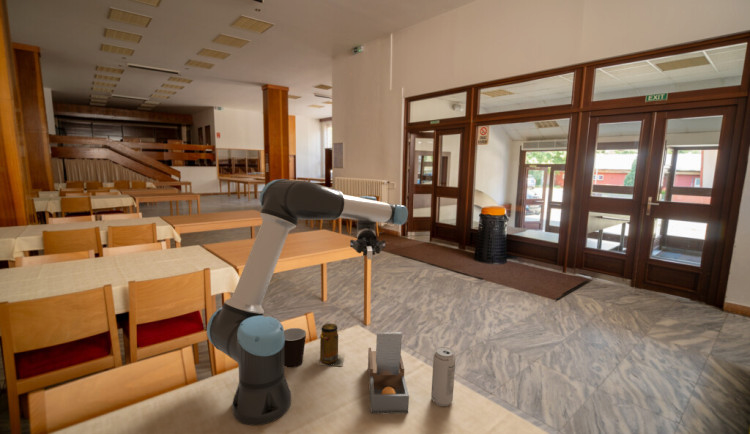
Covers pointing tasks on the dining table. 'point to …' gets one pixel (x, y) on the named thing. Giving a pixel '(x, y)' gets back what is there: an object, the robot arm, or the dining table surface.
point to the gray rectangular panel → (388, 353)
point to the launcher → (383, 380)
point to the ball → (388, 390)
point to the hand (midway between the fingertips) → (369, 255)
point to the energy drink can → (443, 376)
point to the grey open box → (389, 399)
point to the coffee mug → (294, 347)
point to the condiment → (330, 347)
